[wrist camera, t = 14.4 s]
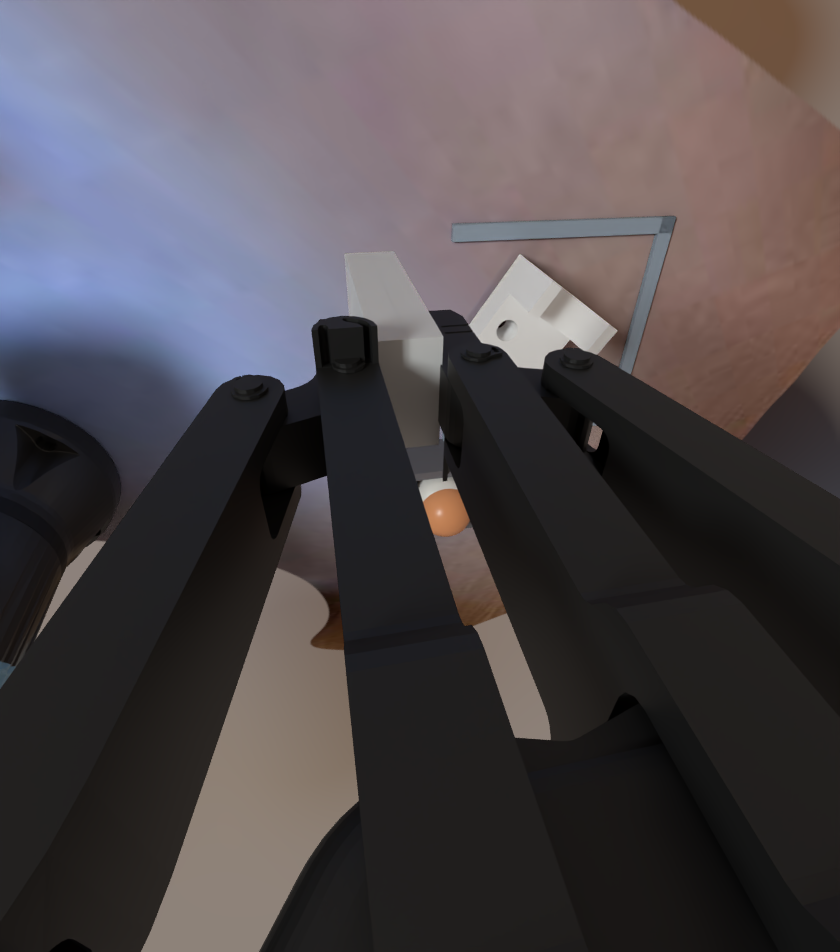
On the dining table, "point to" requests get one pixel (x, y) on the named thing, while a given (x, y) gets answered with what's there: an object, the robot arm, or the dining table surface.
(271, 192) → the dining table surface
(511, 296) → the bracket
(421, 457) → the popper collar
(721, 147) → the dining table surface
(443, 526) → the orange and white capsule
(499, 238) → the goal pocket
